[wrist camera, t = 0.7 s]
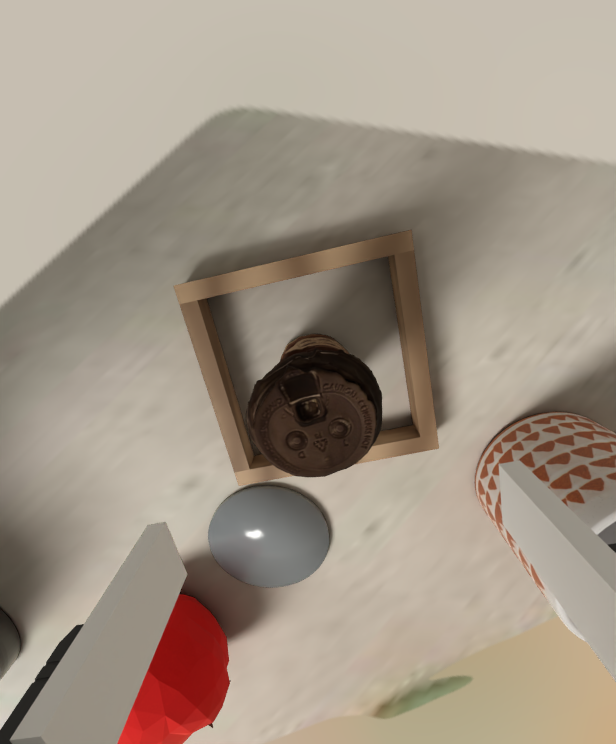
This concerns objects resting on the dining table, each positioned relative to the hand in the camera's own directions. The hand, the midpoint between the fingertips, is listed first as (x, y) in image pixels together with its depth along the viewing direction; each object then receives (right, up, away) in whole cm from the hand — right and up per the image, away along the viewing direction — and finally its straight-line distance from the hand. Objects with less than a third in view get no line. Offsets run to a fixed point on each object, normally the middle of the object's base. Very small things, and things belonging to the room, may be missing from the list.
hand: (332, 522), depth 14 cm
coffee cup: (0, +7, +19) cm, 20 cm away
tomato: (-16, -24, +28) cm, 40 cm away
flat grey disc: (-5, -12, +24) cm, 28 cm away
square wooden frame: (0, +7, +18) cm, 20 cm away
